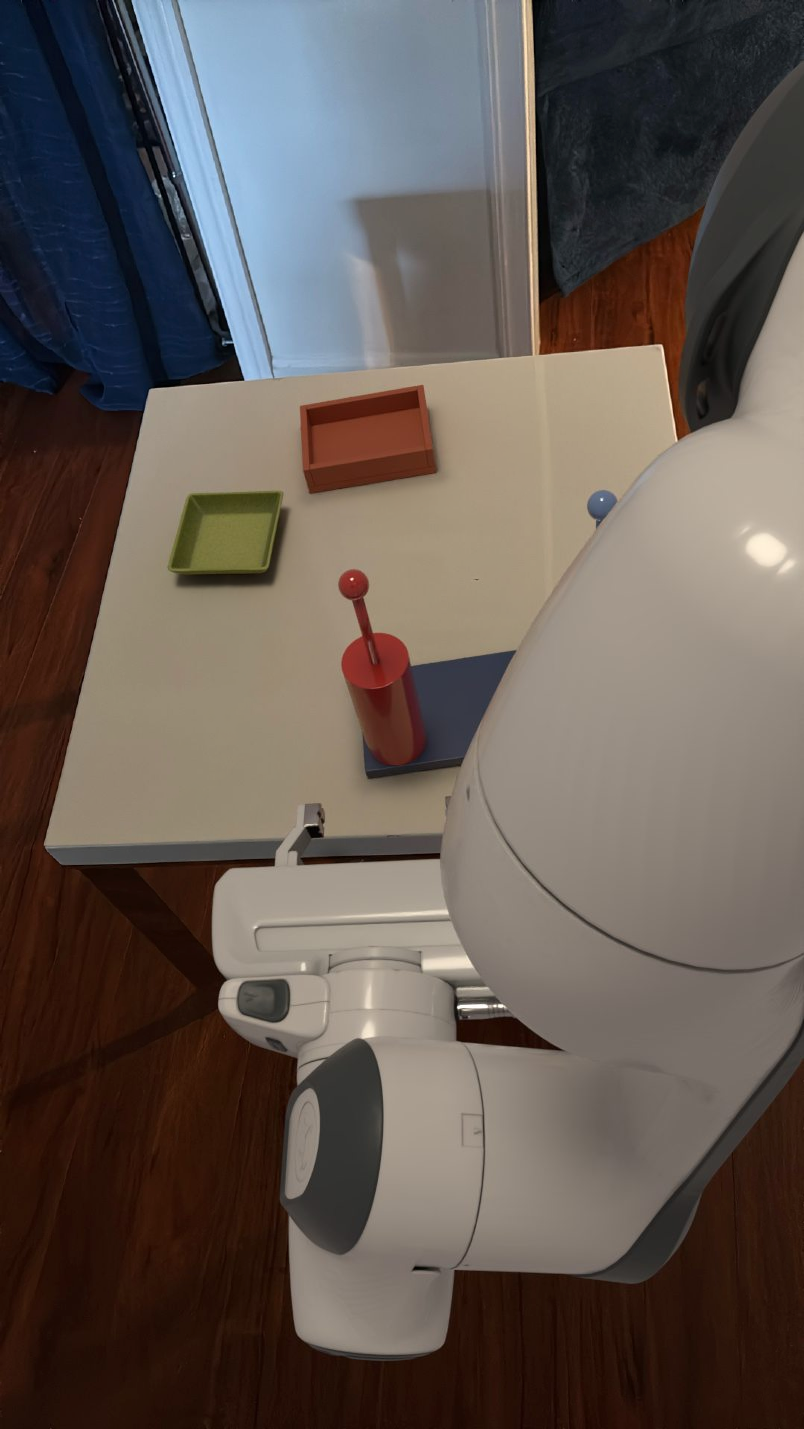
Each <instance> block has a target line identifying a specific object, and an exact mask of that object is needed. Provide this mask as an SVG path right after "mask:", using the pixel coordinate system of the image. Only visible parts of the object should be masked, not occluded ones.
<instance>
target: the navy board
mask: <svg viewBox="0 0 804 1429" xmlns="http://www.w3.org/2000/svg"><path fill="white" fill-rule="evenodd" d="M516 651H517V649H514V650H509V651H508V650H507V651H500V652H494V653H486V654H482V655H475V656H468V657H461V658H455V659H447V660H441V661H435V662H427V663H422V664H416V665H411V667H412V671H413V675H414V680H415V684H416V688H417V693H418V697H419V701H420V706H421V710H422V714H423V719H424V723H425V727H426V732H427V743H426V746H425V748H424V750H423V752H422V753H421V754H420V755H419V756H418V757H417V758H416V759H415V760H413V761H411V762H409V763H407V764H404V765H399V766H390V765H385V764H383V763H380V762H378V761H377V760H376V759H374V758H373V757H372V755H371V754H370V752H369V750H368V747H367V744H366V741H365V738H364V735H363V732H362V731H361V734H362V748H363V759H364V760H363V761H364V772H365V775H366V778H367V779H372V778H378V777H384V776H385V777H386V776H392V775H399V774H406V773H415V772H420V771H427V770H433V769H440V768H447V767H454V766H461V765H462V762H463V760H464V758H465V755H466V753H467V751H468V748H469V746H470V744H471V742H472V739H473V737H474V735H475V733H476V731H477V729H478V727H479V725H480V723H481V721H482V718H483V716H484V714H485V712H486V710H487V708H488V706H489V704H490V702H491V700H492V698H493V695H494V693H495V691H496V689H497V687H498V685H499V683H500V681H501V679H502V677H503V675H504V673H505V671H506V669H507V667H508V665H509V663H510V661H511V660H512V658H513V656H514V654H515V652H516Z"/></svg>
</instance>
